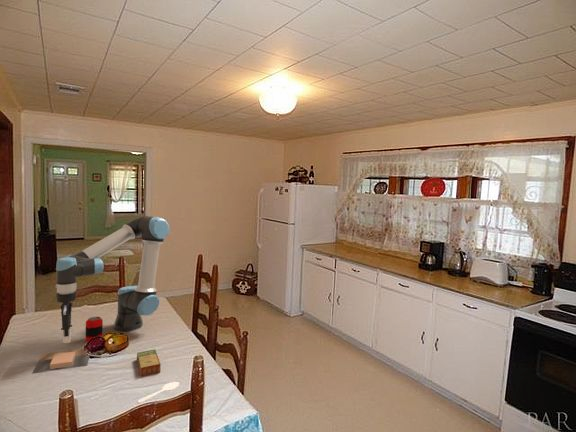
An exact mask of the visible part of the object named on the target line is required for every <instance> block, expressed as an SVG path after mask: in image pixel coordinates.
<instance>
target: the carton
mask: <svg viewBox="0 0 576 432" xmlns="http://www.w3.org/2000/svg"><path fill="white" fill-rule="evenodd" d="M136 362H137V366H138V371H139V376H140V377H144V376H149V375H153V374H158V373H160V372H161V362H160V359H159V355H158V354H157V350H156V349H155V348H154V349H149V350H144V351H138V352H137V353H136Z"/></svg>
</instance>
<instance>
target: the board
mask: <svg viewBox="0 0 576 432" xmlns="http://www.w3.org/2000/svg"><path fill="white" fill-rule="evenodd" d="M84 349H85V348H82V349H74V350H67V351H66V350H65V351H59V352H56V351H55V352H51V353H50V352H49V353H42V354H41V356H40V357H39V360H38V361H37V364H36V365H35V366H34V368H33V371H32V372H31V374H32V375H33V374H39V373H46V372H51V371H52V372H53V371H60V370H66V369H68V370H69V369H74V368H81V367H82V368H83V367H87V366H88V364H89V360H90V357H91V355H90V356H89V355H87V354H86V353H85V351H84ZM67 352H75V358H74V361H73V364H72V366H68V367H61V368H53V369H50V363H51V361H52V359H53V357H54V355H55V354H59V353H67Z"/></svg>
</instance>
